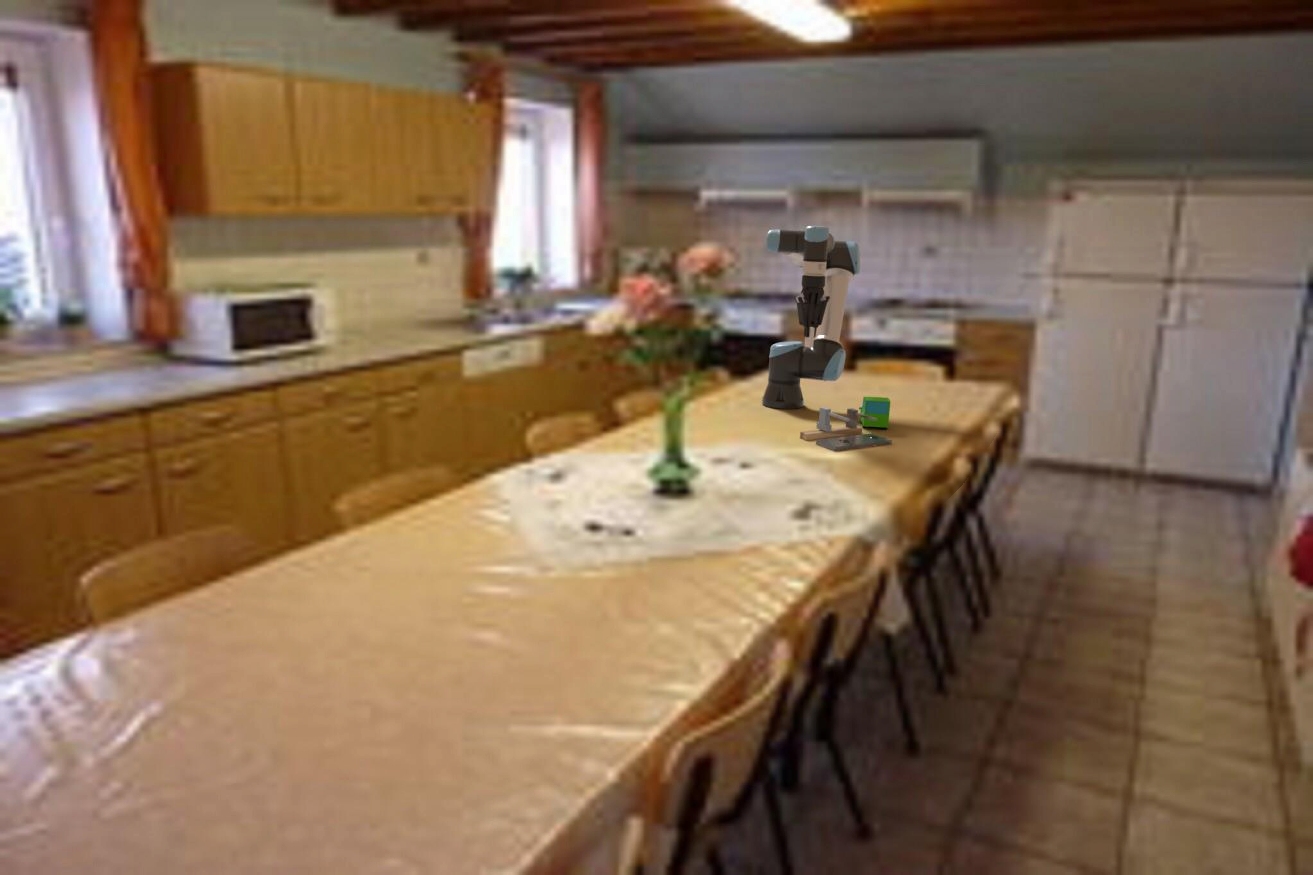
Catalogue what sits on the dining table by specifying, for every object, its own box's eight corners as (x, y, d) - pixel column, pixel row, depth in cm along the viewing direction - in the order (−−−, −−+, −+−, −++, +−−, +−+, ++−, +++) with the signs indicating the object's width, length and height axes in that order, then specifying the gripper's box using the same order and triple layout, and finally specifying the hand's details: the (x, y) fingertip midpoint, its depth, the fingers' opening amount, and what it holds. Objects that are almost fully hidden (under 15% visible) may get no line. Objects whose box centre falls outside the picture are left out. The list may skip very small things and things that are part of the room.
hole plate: (815, 443, 293) (815, 440, 293) (872, 436, 304) (872, 433, 304) (834, 451, 286) (834, 447, 285) (891, 443, 297) (892, 439, 296)
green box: (885, 422, 326) (888, 393, 324) (890, 431, 313) (893, 401, 311) (856, 420, 327) (858, 392, 325) (859, 429, 314) (862, 400, 312)
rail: (799, 438, 300) (801, 413, 298) (855, 431, 311) (857, 407, 309) (825, 447, 289) (827, 422, 287) (882, 440, 300) (885, 416, 298)
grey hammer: (816, 428, 304) (817, 407, 302) (821, 427, 305) (822, 406, 303) (844, 438, 292) (846, 416, 290) (849, 437, 293) (851, 415, 291)
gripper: (804, 276, 300) (799, 349, 305) (837, 275, 306) (831, 347, 312) (790, 274, 306) (786, 346, 312) (822, 273, 312) (817, 344, 318)
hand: (808, 346), depth 312 cm, fingers closed
